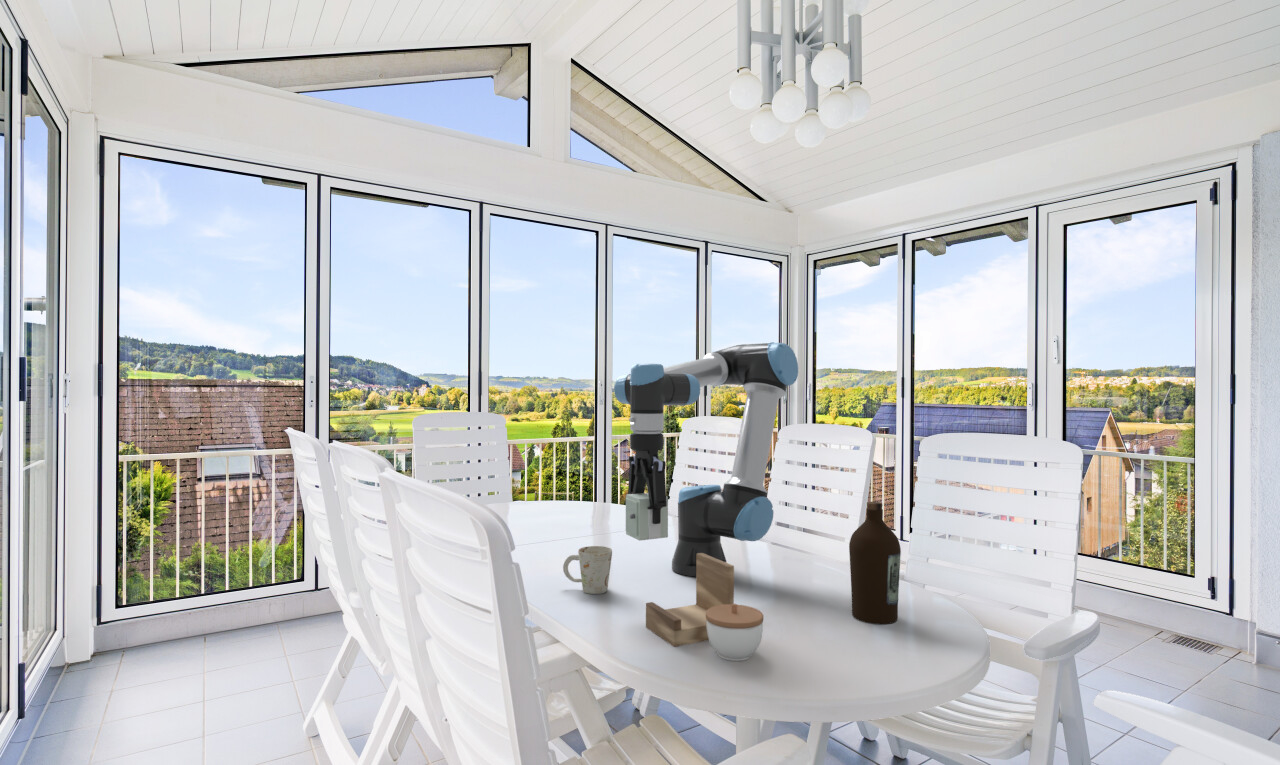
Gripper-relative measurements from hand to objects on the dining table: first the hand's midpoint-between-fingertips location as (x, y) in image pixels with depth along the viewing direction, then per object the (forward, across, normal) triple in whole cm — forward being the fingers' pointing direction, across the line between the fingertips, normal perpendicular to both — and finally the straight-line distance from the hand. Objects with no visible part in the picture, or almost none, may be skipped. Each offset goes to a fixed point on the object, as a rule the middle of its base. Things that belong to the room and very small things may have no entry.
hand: (646, 534), depth 150 cm
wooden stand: (+17, +15, +2) cm, 23 cm away
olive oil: (+17, +26, +43) cm, 53 cm away
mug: (+17, -20, -6) cm, 27 cm away
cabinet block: (0, 0, 0) cm, 0 cm away
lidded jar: (+17, +29, +4) cm, 34 cm away
